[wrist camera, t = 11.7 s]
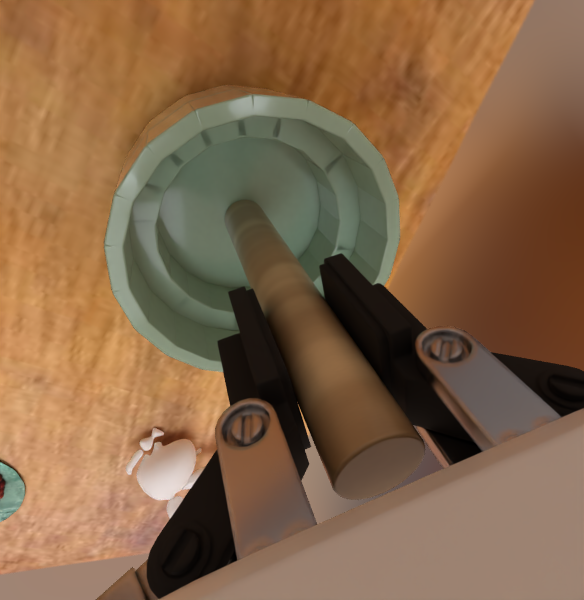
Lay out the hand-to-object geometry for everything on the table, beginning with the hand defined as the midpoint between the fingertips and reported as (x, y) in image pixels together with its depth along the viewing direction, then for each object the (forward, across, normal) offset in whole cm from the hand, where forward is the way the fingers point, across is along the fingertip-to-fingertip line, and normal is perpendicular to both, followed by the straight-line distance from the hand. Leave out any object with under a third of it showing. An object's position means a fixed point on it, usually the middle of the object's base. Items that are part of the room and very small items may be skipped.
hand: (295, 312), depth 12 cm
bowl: (+9, 0, 0) cm, 9 cm away
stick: (+8, 0, 0) cm, 8 cm away
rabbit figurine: (+10, +9, +16) cm, 21 cm away
